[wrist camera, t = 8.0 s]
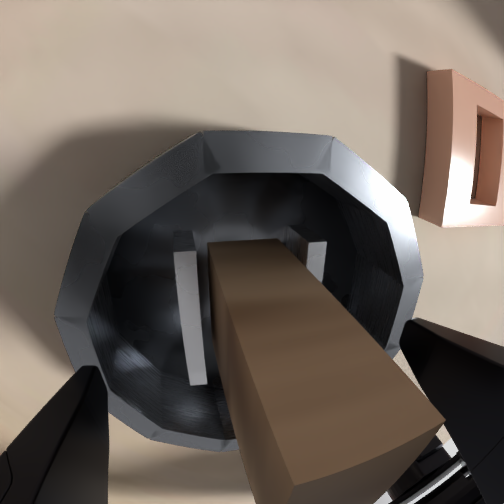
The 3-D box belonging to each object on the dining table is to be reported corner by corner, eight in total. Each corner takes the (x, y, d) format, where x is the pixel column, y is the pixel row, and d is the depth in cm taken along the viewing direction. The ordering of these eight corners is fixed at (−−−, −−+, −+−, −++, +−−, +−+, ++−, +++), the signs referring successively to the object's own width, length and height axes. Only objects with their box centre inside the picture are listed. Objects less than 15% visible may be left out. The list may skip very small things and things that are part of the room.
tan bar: (271, 332, 12) (365, 510, 5) (211, 340, 11) (269, 542, 4) (277, 238, 10) (445, 420, 3) (207, 242, 10) (294, 485, 2)
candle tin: (341, 365, 15) (374, 412, 11) (125, 396, 12) (121, 457, 9) (377, 144, 10) (444, 154, 7) (72, 145, 8) (22, 152, 5)
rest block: (487, 217, 14) (506, 225, 12) (418, 217, 12) (441, 227, 11) (496, 107, 11) (516, 110, 10) (426, 71, 10) (451, 69, 8)
